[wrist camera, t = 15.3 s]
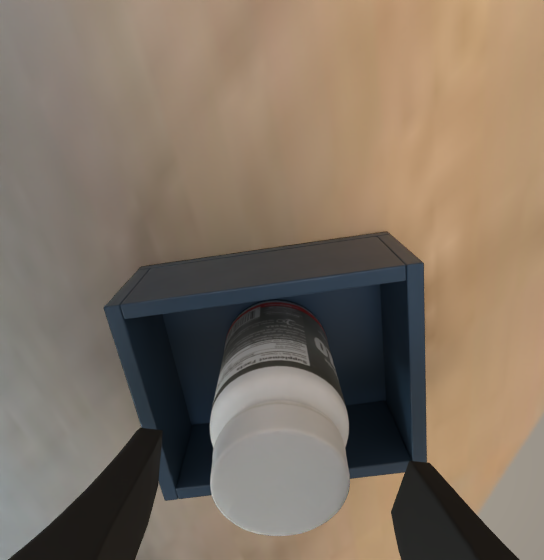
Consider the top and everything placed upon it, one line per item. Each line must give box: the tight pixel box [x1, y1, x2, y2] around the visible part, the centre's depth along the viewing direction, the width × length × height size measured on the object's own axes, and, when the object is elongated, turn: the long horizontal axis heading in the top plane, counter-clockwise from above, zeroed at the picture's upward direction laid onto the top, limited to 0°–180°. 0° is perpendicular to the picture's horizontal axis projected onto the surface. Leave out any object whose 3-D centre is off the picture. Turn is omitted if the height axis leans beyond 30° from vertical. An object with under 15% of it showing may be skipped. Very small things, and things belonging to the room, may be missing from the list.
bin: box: [104, 232, 427, 501], centre depth 18 cm, size 11×9×4 cm
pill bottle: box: [210, 300, 350, 536], centre depth 15 cm, size 5×5×8 cm
